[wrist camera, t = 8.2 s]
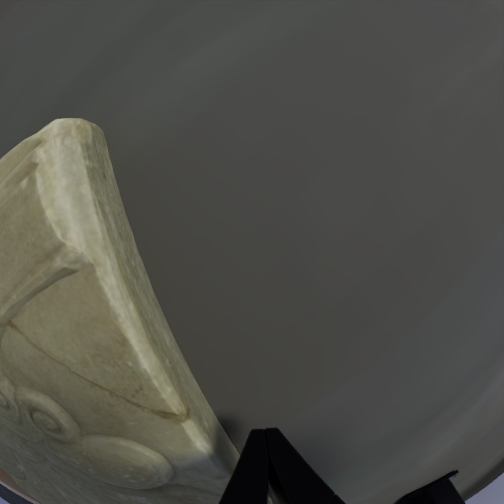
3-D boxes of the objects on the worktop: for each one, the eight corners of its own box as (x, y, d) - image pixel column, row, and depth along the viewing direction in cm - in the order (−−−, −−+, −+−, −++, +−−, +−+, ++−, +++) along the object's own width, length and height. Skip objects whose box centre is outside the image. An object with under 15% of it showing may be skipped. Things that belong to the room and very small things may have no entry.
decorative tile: (113, 122, 7) (52, 90, 4) (275, 494, 12) (283, 538, 8) (-77, 272, 7) (-108, 287, 4) (60, 488, 12) (48, 515, 8)
